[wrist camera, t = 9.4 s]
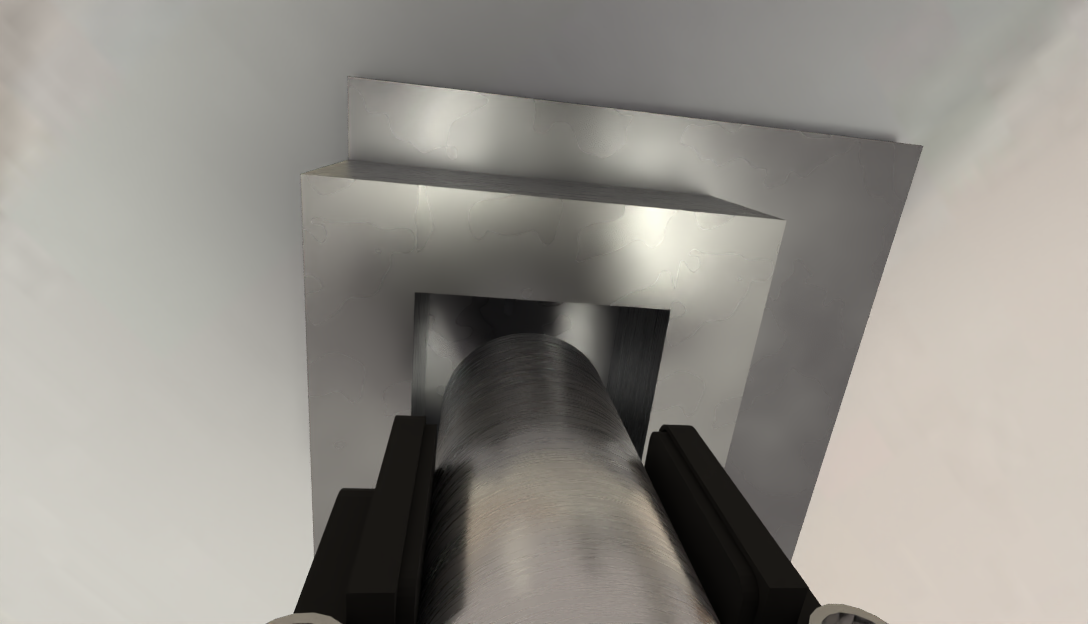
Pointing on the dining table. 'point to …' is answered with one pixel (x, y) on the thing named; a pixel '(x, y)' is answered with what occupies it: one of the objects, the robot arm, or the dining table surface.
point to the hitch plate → (688, 157)
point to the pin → (546, 501)
